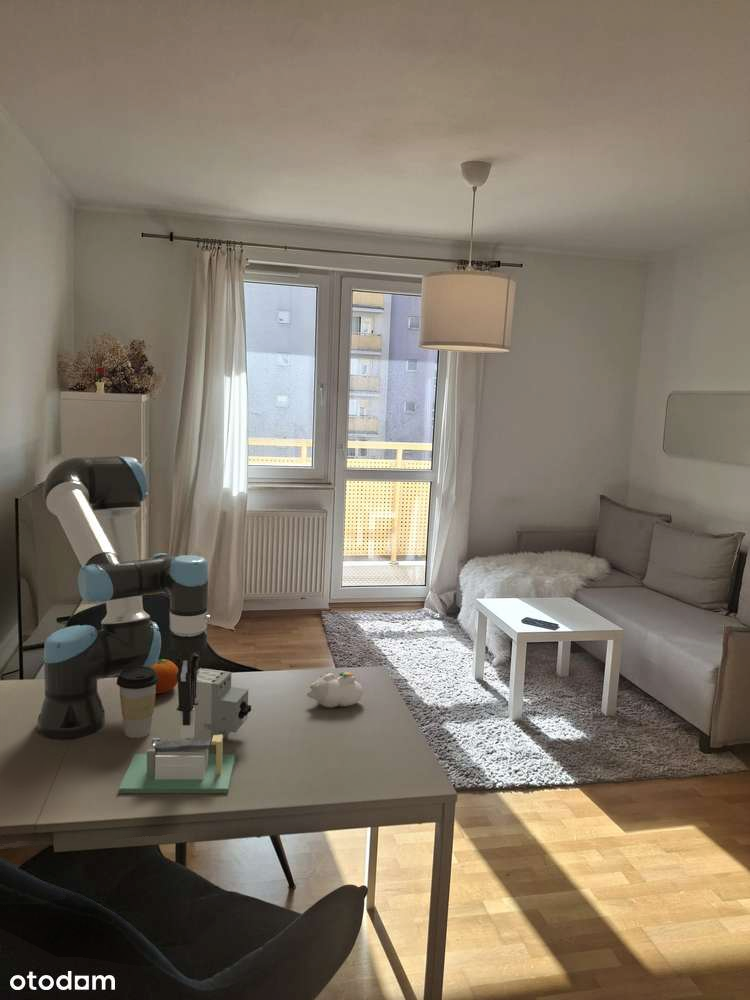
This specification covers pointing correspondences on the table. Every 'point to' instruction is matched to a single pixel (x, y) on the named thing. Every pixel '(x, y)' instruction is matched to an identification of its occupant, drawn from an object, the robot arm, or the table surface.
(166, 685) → the fruit
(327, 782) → the table surface
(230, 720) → the circuit breaker
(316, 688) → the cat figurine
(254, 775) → the table surface
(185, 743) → the grey lever
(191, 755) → the board
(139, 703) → the coffee cup
